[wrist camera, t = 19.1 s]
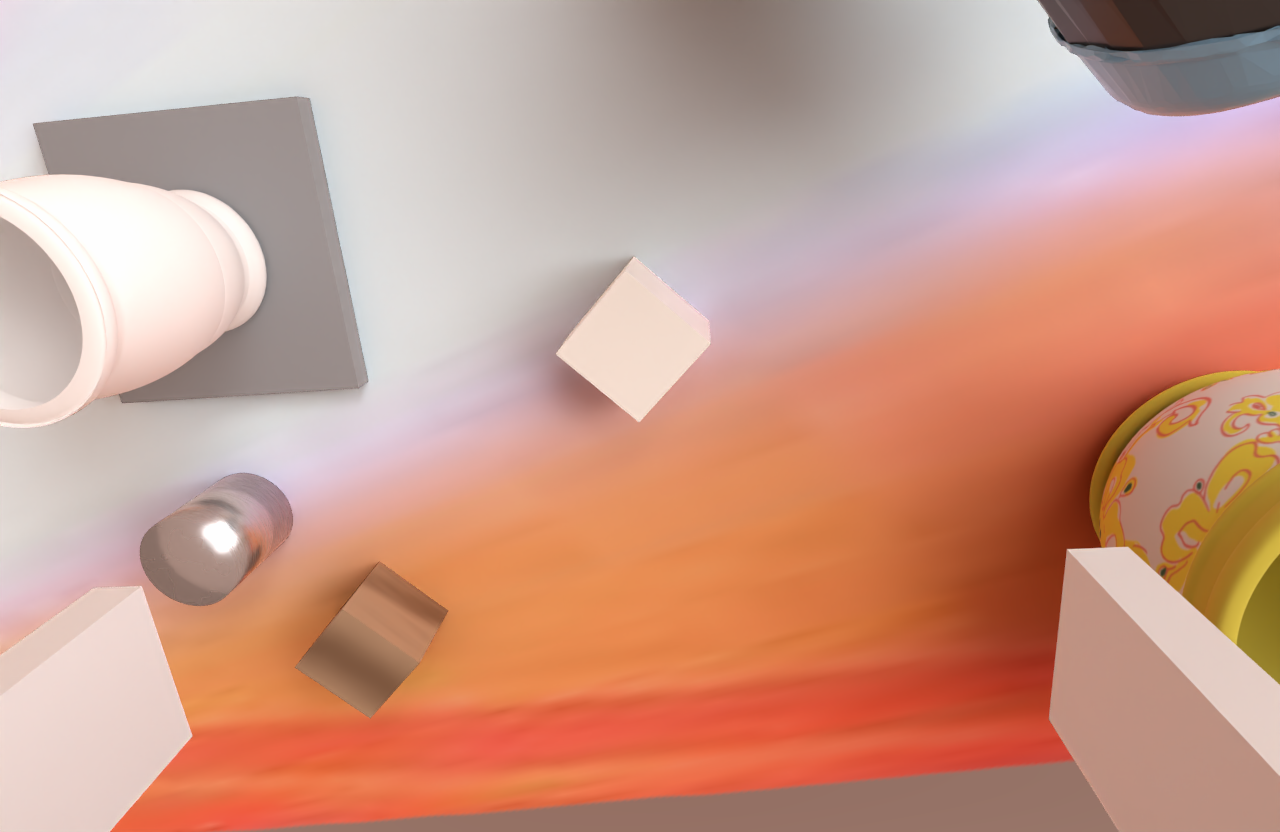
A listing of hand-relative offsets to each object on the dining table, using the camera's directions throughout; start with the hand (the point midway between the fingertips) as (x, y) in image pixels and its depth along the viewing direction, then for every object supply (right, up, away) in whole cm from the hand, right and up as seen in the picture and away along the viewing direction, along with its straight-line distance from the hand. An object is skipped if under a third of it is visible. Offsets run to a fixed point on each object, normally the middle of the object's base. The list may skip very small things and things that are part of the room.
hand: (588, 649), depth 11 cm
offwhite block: (+1, +9, +36) cm, 37 cm away
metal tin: (-26, -3, +42) cm, 50 cm away
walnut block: (-17, -11, +44) cm, 49 cm away
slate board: (-26, +13, +36) cm, 46 cm away
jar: (-26, +13, +35) cm, 45 cm away
